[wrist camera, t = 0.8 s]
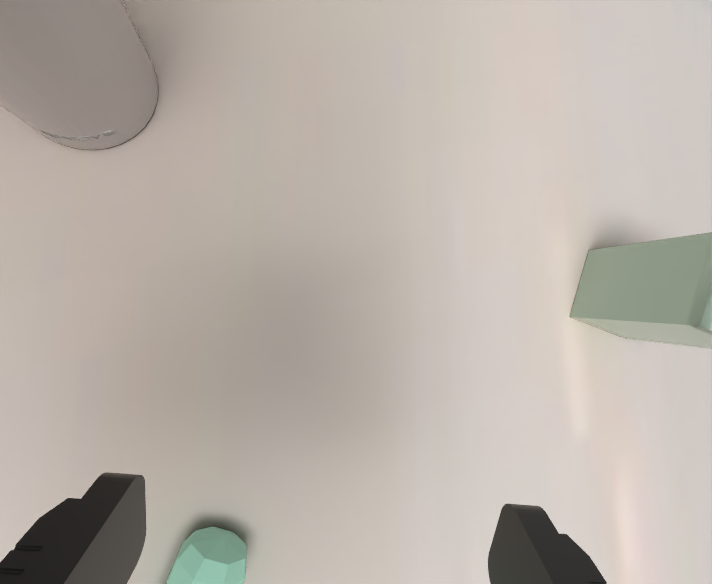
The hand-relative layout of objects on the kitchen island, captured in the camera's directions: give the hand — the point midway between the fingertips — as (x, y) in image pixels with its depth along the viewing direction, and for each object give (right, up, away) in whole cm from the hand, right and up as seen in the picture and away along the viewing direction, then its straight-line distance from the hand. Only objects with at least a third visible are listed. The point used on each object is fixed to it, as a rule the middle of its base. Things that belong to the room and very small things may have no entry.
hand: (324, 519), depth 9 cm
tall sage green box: (+24, +5, +27) cm, 37 cm away
